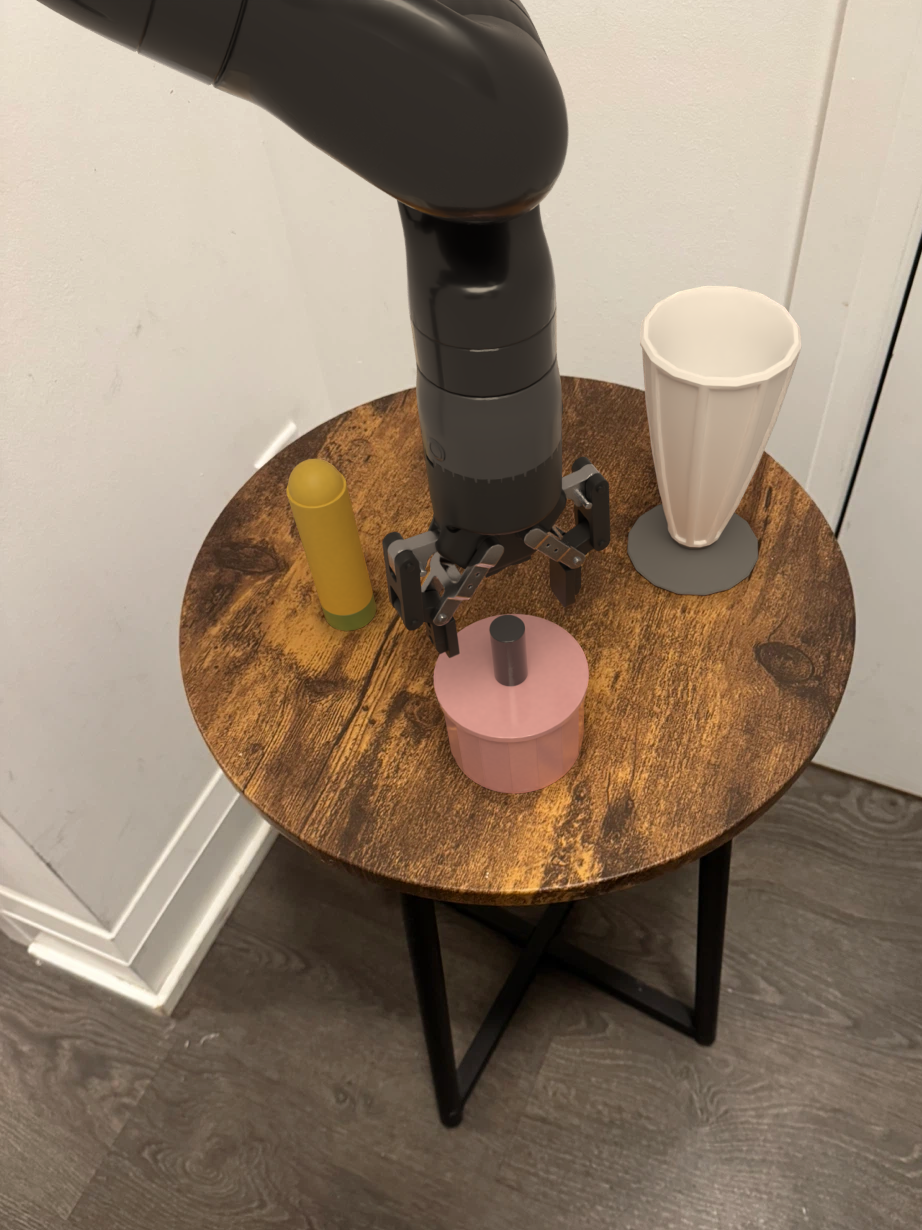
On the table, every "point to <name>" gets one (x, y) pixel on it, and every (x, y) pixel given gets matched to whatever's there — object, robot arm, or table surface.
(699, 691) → the table surface
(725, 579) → the cup
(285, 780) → the table surface
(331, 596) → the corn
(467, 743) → the pot
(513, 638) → the lid
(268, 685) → the table surface
